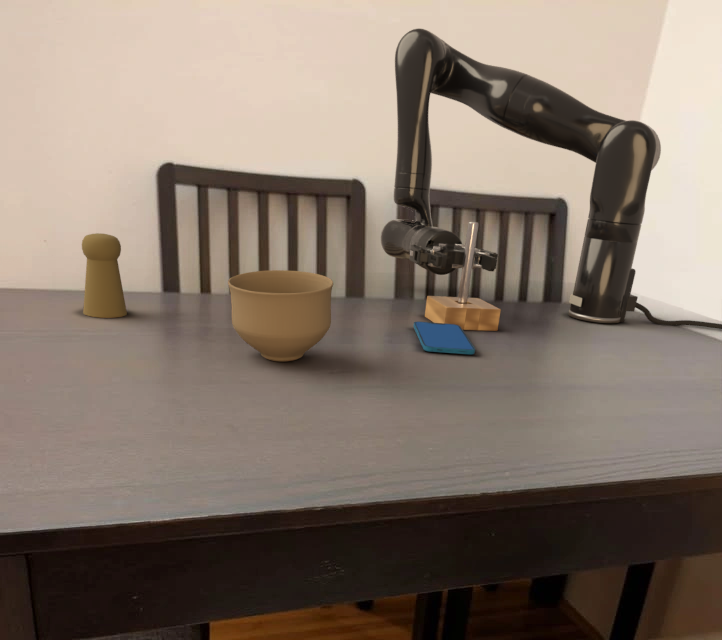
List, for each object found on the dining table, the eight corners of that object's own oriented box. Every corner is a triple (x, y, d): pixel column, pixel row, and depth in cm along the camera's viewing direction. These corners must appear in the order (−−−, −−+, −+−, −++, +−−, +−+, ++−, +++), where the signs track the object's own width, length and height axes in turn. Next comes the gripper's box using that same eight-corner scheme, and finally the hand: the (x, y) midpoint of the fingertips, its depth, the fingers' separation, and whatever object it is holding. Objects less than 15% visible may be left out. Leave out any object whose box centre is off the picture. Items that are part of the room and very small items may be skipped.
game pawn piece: (93, 318, 102) (88, 237, 98) (76, 310, 106) (70, 231, 102) (134, 316, 106) (131, 237, 101) (116, 307, 110) (112, 231, 105)
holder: (475, 318, 127) (478, 298, 125) (497, 331, 118) (501, 309, 117) (424, 316, 124) (427, 295, 123) (443, 329, 116) (446, 307, 115)
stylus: (462, 322, 122) (476, 222, 116) (465, 324, 121) (480, 223, 114) (453, 322, 122) (466, 221, 115) (456, 324, 120) (470, 222, 114)
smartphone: (424, 346, 100) (412, 321, 114) (423, 353, 101) (412, 327, 114) (476, 350, 101) (459, 324, 115) (475, 357, 101) (458, 330, 115)
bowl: (206, 353, 91) (206, 271, 87) (280, 341, 100) (283, 266, 96) (275, 378, 83) (279, 289, 79) (349, 362, 92) (355, 282, 88)
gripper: (399, 225, 128) (430, 236, 114) (474, 230, 132) (513, 241, 118) (395, 269, 131) (424, 285, 117) (468, 272, 135) (505, 289, 121)
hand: (469, 263), depth 117 cm, fingers open, 8 cm apart
